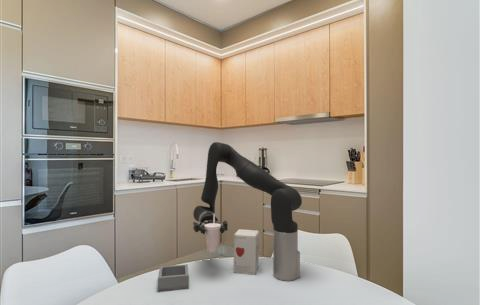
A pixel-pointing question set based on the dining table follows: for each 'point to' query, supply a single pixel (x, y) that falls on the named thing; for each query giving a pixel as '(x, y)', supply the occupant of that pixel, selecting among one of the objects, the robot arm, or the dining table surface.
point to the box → (173, 278)
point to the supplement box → (246, 251)
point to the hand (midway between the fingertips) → (213, 231)
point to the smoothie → (212, 235)
